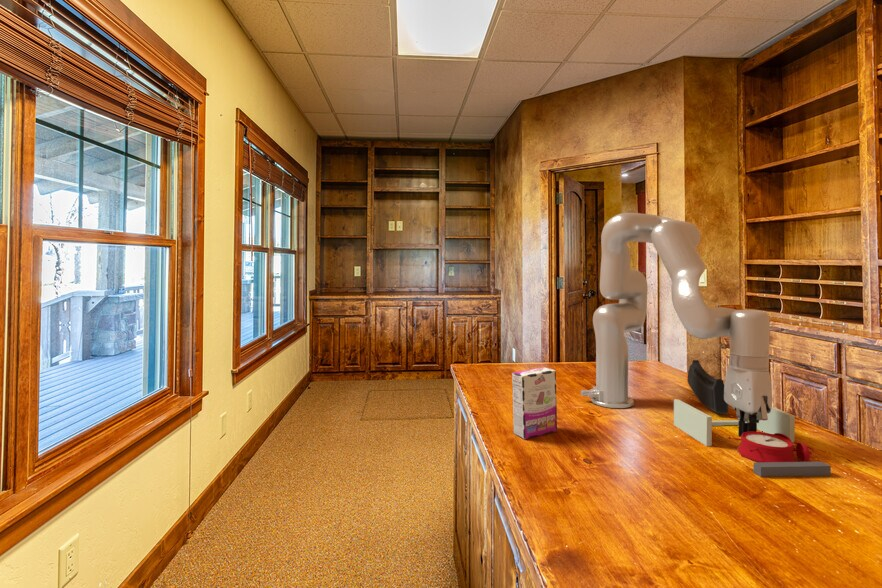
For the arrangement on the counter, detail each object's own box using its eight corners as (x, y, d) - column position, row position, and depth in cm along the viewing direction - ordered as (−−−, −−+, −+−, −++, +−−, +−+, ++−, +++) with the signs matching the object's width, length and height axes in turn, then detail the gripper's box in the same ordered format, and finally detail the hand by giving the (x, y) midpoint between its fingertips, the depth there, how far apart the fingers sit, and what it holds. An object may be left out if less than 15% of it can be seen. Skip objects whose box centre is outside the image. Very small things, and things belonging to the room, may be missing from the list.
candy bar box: (544, 425, 114) (544, 366, 113) (557, 431, 109) (557, 370, 108) (511, 433, 108) (511, 371, 108) (523, 440, 104) (523, 375, 103)
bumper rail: (760, 476, 84) (760, 467, 83) (753, 472, 86) (753, 462, 85) (830, 475, 84) (830, 466, 83) (821, 471, 86) (821, 461, 85)
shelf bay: (706, 446, 99) (706, 417, 98) (673, 424, 113) (673, 399, 112) (794, 444, 98) (794, 415, 98) (750, 423, 112) (751, 398, 112)
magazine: (732, 389, 114) (701, 341, 141) (718, 388, 115) (690, 341, 142) (725, 440, 120) (696, 385, 147) (712, 439, 121) (686, 384, 148)
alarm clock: (722, 432, 98) (785, 417, 98) (727, 457, 98) (790, 443, 98) (754, 450, 88) (825, 434, 87) (760, 479, 88) (831, 463, 87)
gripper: (712, 356, 106) (711, 426, 107) (756, 369, 91) (755, 451, 92) (741, 355, 106) (740, 426, 107) (790, 368, 91) (789, 450, 92)
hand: (747, 437), depth 99 cm, fingers closed
